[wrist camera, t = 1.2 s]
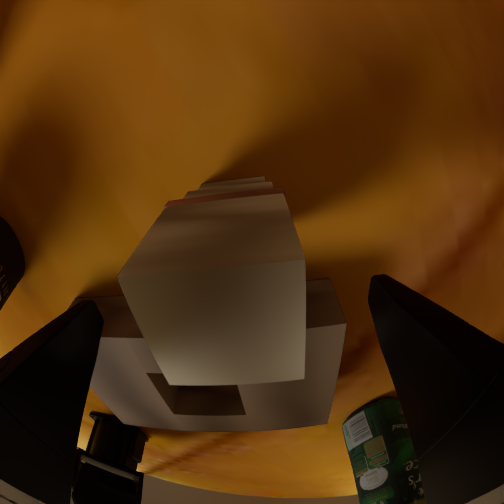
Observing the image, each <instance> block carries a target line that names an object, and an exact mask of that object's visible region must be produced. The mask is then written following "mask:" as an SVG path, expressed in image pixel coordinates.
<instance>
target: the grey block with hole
mask: <svg viewBox="0 0 504 504" xmlns="http://www.w3.org/2000/svg"><path fill="white" fill-rule="evenodd" d="M85 299H92V300H94V301H95V303H96V304H97V306H98V308H99V310H100V312H101V314H102V316H103V319H104V326H103V330H102V335H101V340H100V345H99V350H98V355H97V360H96V364H95V368H94V371H93V375H92V379H91V383H90V387H91V388H92V389H93V391H94V392H95V393H96V394H97V395H98V397H99V398H100V399H101V400H102V401H103V402H104V403H105V404H106V406H107V407H108V408H109V409H110V410H111V411H112V412H113V413H114V414H115V415H116V416H117V417H118V418H119V419H120V421H121V422H122V423H123V424H128V425H135V426H142V427H150V428H159V429H169V430H182V431H201V432H248V431H267V430H280V429H291V428H300V427H308V426H315V425H322V424H327V422H328V418H329V414H330V410H331V406H332V401H333V397H334V392H335V387H336V383H337V378H338V373H339V367H340V362H341V356H342V350H343V344H344V338H345V332H346V325H347V323H346V320H345V317H344V314H343V312H342V309H341V306H340V304H339V301H338V298H337V296H336V293H335V290H334V288H333V285H332V283H331V280H330V278H329V279H321V280H312V281H306V340H305V374H304V379H300V380H291V381H281V382H270V383H257V384H240V385H169V383H168V381H167V380H166V378H165V376H164V374H163V373H162V371H161V369H160V367H159V365H158V364H157V362H156V360H155V358H154V356H153V354H152V352H151V350H150V349H149V347H148V345H147V343H146V341H145V339H144V337H143V335H142V333H141V331H140V329H139V327H138V324H137V322H136V320H135V318H134V316H133V314H132V312H131V309H130V307H129V305H128V303H127V300H126V298H125V296H107V297H81V298H75V299H74V301H73V302H72V304H71V305H70V307H69V308H68V309H70V308H71V307H73V306H74V305H76V304H77V303H79V302H80V301H82V300H85Z"/></svg>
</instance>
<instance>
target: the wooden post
mask: <svg viewBox="0 0 504 504" xmlns="http://www.w3.org/2000/svg"><path fill="white" fill-rule="evenodd" d="M117 279H118V282H119V284H120V286H121V289H122V291H123V294H124V296H125V298H126V300H127V303H128V305H129V307H130V309H131V312H132V314H133V316H134V318H135V320H136V322H137V324H138V327H139V329H140V331H141V333H142V335H143V337H144V339H145V341H146V343H147V345H148V347H149V349H150V350H151V352H152V354H153V356H154V358H155V360H156V362H157V364H158V365H159V367H160V369H161V371H162V373H163V374H164V376H165V378H166V380H167V381H168V383H169V385H240V384H257V383H270V382H281V381H291V380H300V379H304V374H305V340H306V259H305V256H304V253H303V250H302V247H301V244H300V241H299V238H298V235H297V232H296V229H295V226H294V223H293V220H292V217H291V214H290V211H289V208H288V205H287V202H286V199H285V191H284V189H283V187H277V188H273V184H272V181H270V182H265V177H264V176H263V177H253V178H244V179H236V180H228V181H220V182H212V183H205V184H201V186H200V188H199V189H198V190H196V191H189V192H187V194H186V195H185V197H184V198H183V199H179V200H173V201H168V202H167V203H166V205H165V206H164V210H163V212H162V213H161V214H160V216H159V217H158V218H157V220H156V221H155V223H154V224H153V225H152V227H151V228H150V229H149V231H148V232H147V234H146V235H145V236H144V238H143V239H142V241H141V242H140V243H139V245H138V246H137V248H136V249H135V251H134V252H133V253H132V255H131V256H130V258H129V259H128V261H127V262H126V264H125V265H124V267H123V268H122V270H121V271H120V273H119V274H118V276H117Z"/></svg>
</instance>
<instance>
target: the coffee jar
mask: <svg viewBox="0 0 504 504" xmlns="http://www.w3.org/2000/svg"><path fill="white" fill-rule="evenodd" d="M342 430H343V434H344V438H345V443H346V447H347V450H348V454H349V457H350V461H351V465H352V469H353V473H354V477H355V482H356V487H357V491H358V496H359V502H360V504H426V500H425V495H424V490H423V486H422V481H421V477H420V473H419V468H418V464H417V460H416V456H415V452H414V448H413V444H412V441H411V437H410V434H409V430H408V427H407V424H406V420H405V417H404V414H403V410H402V407H401V404H400V401H399V399H396V398H384V399H381V400H379V401H376V402H374V403H371V404H369V405H365V406H363V407H362V408H360V409H358V410H357V411H355V412H354V413H353V414H351V415H350V416H349V418H348V419H347V420H346V421H345V422H344V423H343V425H342Z"/></svg>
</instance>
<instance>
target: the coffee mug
mask: <svg viewBox="0 0 504 504" xmlns="http://www.w3.org/2000/svg"><path fill="white" fill-rule="evenodd" d="M24 271H25V261H24V255H23V251H22V249H21V246H20V243H19V241H18V239H17V237H16V235H15V233H14V232H13V230H12V229H11V227H10V226H9V224H8V223H7V222H6V221H5V220H4V219H3V218H1V217H0V310H1V309H2V307H3V305H4V304H5V302H6V301H7V299H8V297H9V296H10V294H11V293H12V291H13V290H14V288H15V287H16V285H17V284H18V283H19V281H20V280H21V278H22V277H23V275H24Z"/></svg>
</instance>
